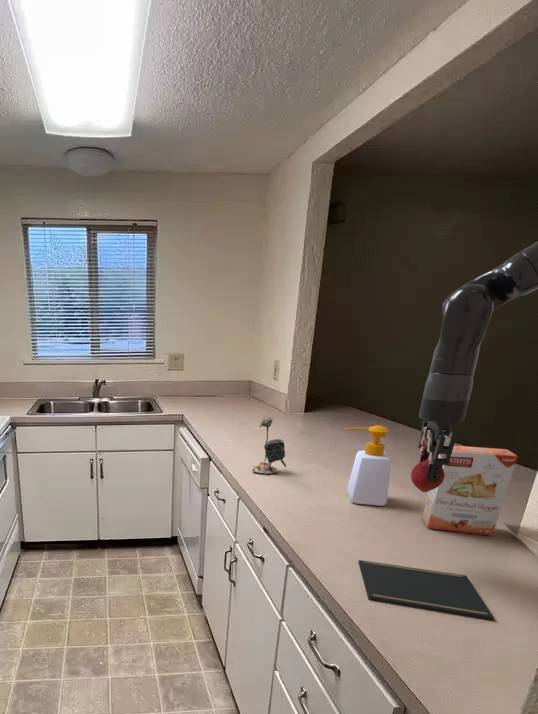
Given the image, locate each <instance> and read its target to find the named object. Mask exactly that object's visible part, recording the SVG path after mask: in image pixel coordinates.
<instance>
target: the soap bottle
mask: <svg viewBox="0 0 538 714" xmlns="http://www.w3.org/2000/svg"><path fill="white" fill-rule="evenodd" d="M347 430H367V431H368V432H369V436H370V437H373V439H372V441H369V442H366V446H365V449H364V450H363V449H361V450H358V451H357V452H356V454H355V458H354V461H353V465H352V470H351V473H350V477H349V480H348V485H347V487H346V492H347V495H348V498H349V501H350V502H351V503H353V504H360V505H368V506H379V507H384V506H386V504H387V503H388V497H389V486H390V475H391V466H392V465H391V463H392V461H391V458H390V457H389V456H388V454H387V453H386V452H385V447H386V445H385V444H384V443H381V442H380V441H381V438H385V437H386V435H387V433H390V429H388V428H387V427H385V426H383V425H379V424H378V425H372V426H370V427H360V426H359V427H355V426H354V427H345V428H342V431H347Z"/></svg>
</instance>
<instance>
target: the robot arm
mask: <svg viewBox="0 0 538 714" xmlns="http://www.w3.org/2000/svg"><path fill="white" fill-rule="evenodd" d="M536 290H538V240H537V241H536V242H534V243H532V244H529V246H527V247H525V248H523V249H522V250H520V251H518V252H516V254H514V255H512V256H510V257H509V258H508V259H507V260H505V261H503V262H502V263H501V264H499V265H498V266H496V267H494V268H493V269H490V270H489V271H487V272H484V273H483V274H481V275H480V276H478V277H475V278H474V279H472V280H470V281H469V282H466V283H464V284H463V285H461V286H459V287H458V288H456V289H454V290H453V291H452V292H450V293H449V294H448V295H447V296H446V297H445V299H444V301H443V303H442V306H441V314H442V325H441V329H440V334H439V340H438V343H437V344H436V346H435V349H434V351H433V353H432V354H433V355H432V359H431V364H430V368H429V373H428V376H427V379H426V381H425V384H424V390H423V394H422V399H421V404H420V408H419V413H418V417H419V418H420V419H421V420H423V421H422V423H421V431H420V436H419V441H418V449H419V454H420V457H419V460H418V461H419V462H418V464H419V463H420V462H422V461H425V460H427V459H428V458H429V465H428V469H427V474H426V478H425V479H426V481H427V482H433V483H437V482H439V479H440V474H441V470H442V466H443V465H448V463H449V460H450V457H451V454H452V450H453V447H454V446H455V443H456V441H457V436H456V435H453V431H452V425H453V424H460V423H462V422H464V421H465V419H466V414H467V411H468V406H469V404H470V403H469V402H470V398H471V394H472V391H473V386H474V376H475V371H476V367H477V363H478V359H479V353H480V350H481V349H480V348H481V344H482V342H483V340H484V337H485V335H486V332H487V329H488V326H489V324H490V322H491V318H492V314H493V311H495V310H497V309H498V308H500V307H502V306H503V305H506V304H507V303H509V302H510V301H513V300H515V299H517V298H519V297H523V296H526V295H528V294H530V293H532V292H535V291H536ZM439 454H441V458H438V456H439Z"/></svg>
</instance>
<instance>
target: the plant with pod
mask: <svg viewBox="0 0 538 714" xmlns="http://www.w3.org/2000/svg"><path fill="white" fill-rule="evenodd" d="M272 424H273V418H272V417H269V416H268V415H264V417H263V419H261V422H260V425H259V428H261V427H266V438H265V439H266V440H265V443H264V446H263V448H264V452H265V455H264V462H263V461H260V462H259V465H256V466H252V472H254V473H258V474H265V475H267V474H276V473H279V472H278V469H277V468H276V467H275V466H272V463H275V462H279V461H280V463H282V465H283V466H284V467H285V468H287V465H286V463H285V461H284V458H285V457H286V450H285V441H284V440H283V439H280V438H275V439H270V440H269V428H270V427H271V426H272ZM266 460H267V462H266Z"/></svg>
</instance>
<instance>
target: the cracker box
mask: <svg viewBox="0 0 538 714" xmlns="http://www.w3.org/2000/svg"><path fill="white" fill-rule="evenodd" d="M438 458H441V454H439V456H438ZM518 459H519V455H517V454H516V453H514V452H513V451H511V450H509V449H507V448H494V447H480V446H479V447H478V446H468V445H467V446H465V445H454V447H453V450H452V454H451V457H450V460H449V463H448V465H443V466H442V468H443V470H444V473H445V478H444V481H443V483H442V484H441V485H440V486H438V487H437V488H435V489H433V490H430V491H428V492H427V496H426V499H425V504H424V508H423V512H422V515H421V520H422V522H423V523H424V525H425V527H426V528H427V529H431V530H432V529H433V530H442V531H449V532H457V533H464V534H465V533H466V534H472V535H482V536H488V537H489V536H490V537H491V536H493V533H494V531H495V528H496V525H497V522H498V519H499V516H500V513H501V511H502V507H503V504H504V501H505V498H506V495H507V492H508V489H509V486H510V483H511V480H512V477H513V474H514V470H515V468H516V465H517V462H518Z"/></svg>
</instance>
